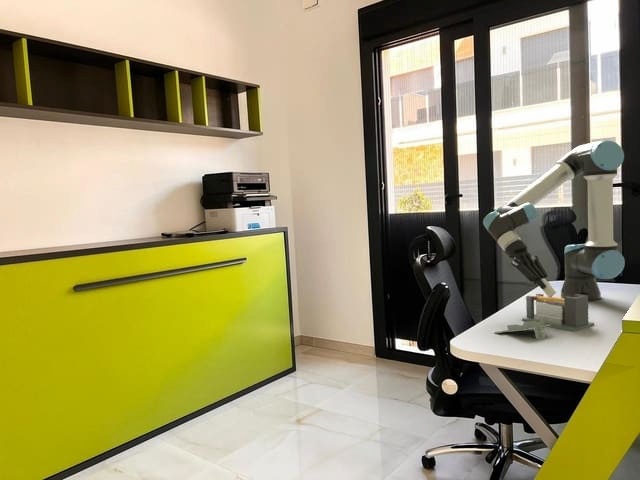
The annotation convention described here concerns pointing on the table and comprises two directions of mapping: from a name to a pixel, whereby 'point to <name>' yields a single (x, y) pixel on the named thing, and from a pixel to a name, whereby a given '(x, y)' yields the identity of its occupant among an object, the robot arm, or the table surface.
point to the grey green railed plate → (560, 325)
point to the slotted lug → (576, 310)
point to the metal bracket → (528, 328)
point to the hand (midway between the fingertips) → (552, 295)
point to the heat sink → (546, 310)
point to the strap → (548, 298)
